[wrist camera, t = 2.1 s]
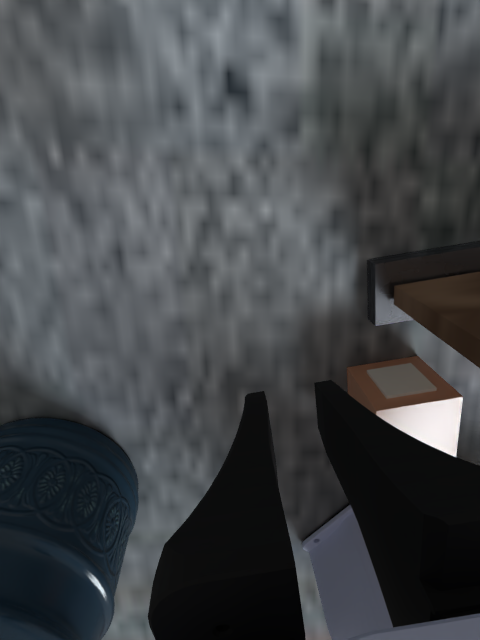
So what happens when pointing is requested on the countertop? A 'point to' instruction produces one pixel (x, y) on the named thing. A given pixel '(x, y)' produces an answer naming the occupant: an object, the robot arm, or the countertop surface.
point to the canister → (61, 529)
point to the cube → (410, 399)
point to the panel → (446, 310)
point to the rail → (414, 275)
